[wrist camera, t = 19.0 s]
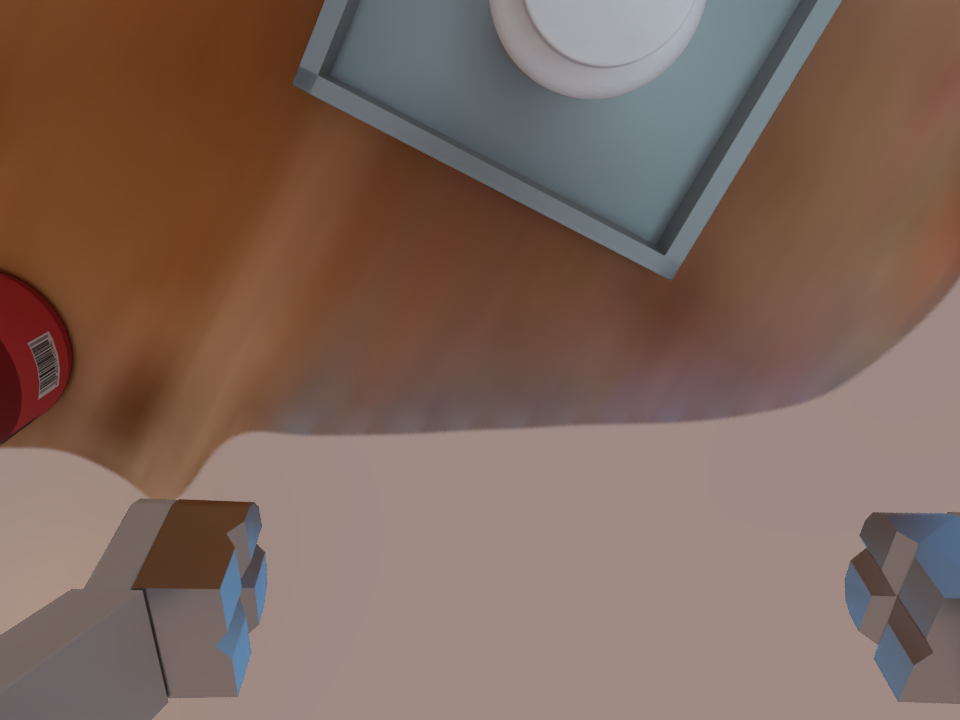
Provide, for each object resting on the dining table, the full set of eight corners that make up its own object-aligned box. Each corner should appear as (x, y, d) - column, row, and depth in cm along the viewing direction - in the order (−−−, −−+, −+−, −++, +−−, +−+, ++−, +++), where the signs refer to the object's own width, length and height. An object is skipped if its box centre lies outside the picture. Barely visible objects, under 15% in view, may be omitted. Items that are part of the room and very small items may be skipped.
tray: (309, 83, 34) (291, 84, 32) (468, -313, 29) (463, -354, 27) (659, 264, 37) (671, 280, 34) (862, -77, 32) (897, -91, 29)
